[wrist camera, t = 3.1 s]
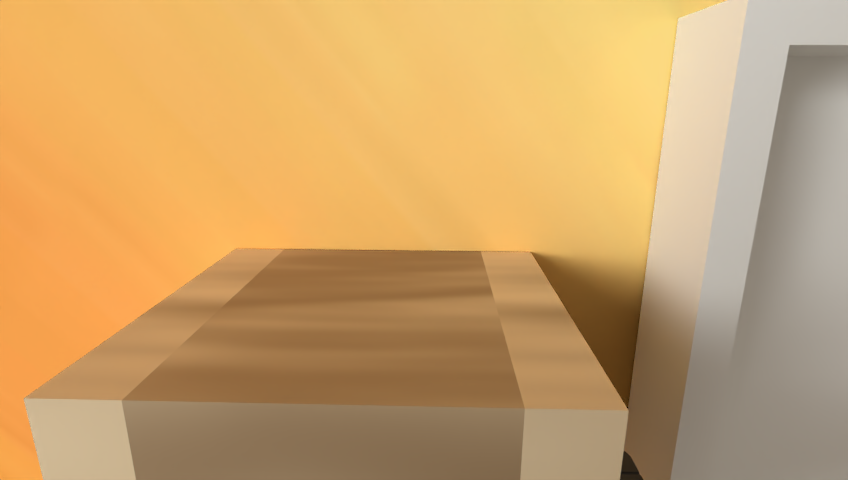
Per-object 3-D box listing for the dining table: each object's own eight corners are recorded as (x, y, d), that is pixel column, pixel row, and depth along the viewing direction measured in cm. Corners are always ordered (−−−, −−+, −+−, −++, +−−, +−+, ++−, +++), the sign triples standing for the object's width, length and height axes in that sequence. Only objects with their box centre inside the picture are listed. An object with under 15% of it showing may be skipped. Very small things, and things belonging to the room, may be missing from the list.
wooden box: (235, 248, 15) (24, 398, 7) (530, 252, 15) (628, 411, 7) (260, 491, 18) (119, 796, 10) (515, 498, 17) (576, 816, 10)
